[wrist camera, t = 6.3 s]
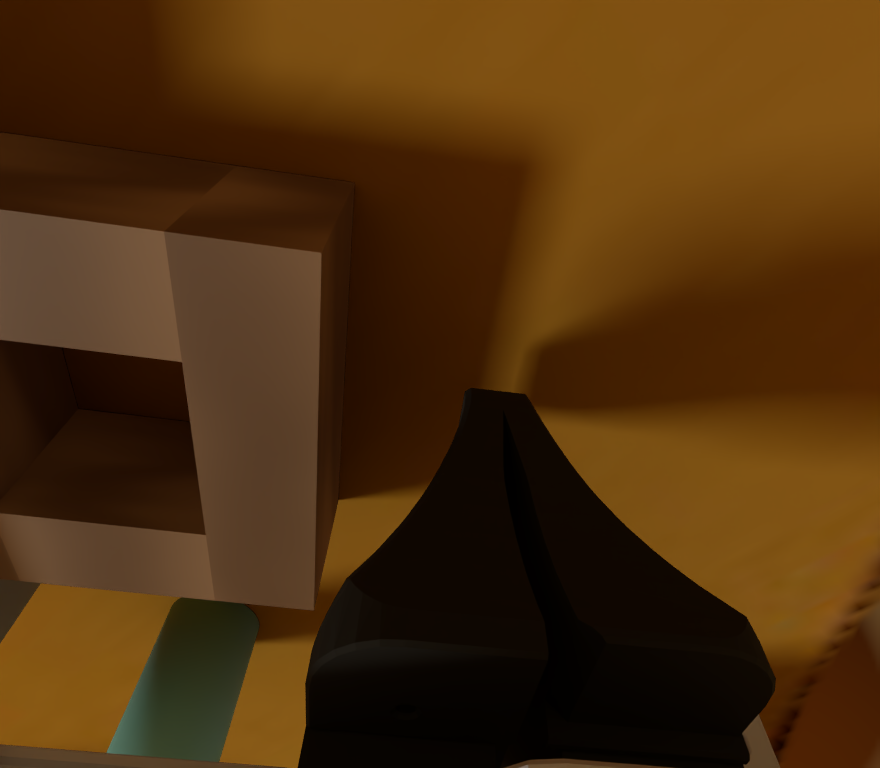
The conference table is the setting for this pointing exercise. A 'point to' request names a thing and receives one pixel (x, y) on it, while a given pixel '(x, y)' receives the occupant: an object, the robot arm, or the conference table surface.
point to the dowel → (189, 683)
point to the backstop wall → (13, 601)
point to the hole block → (176, 339)
